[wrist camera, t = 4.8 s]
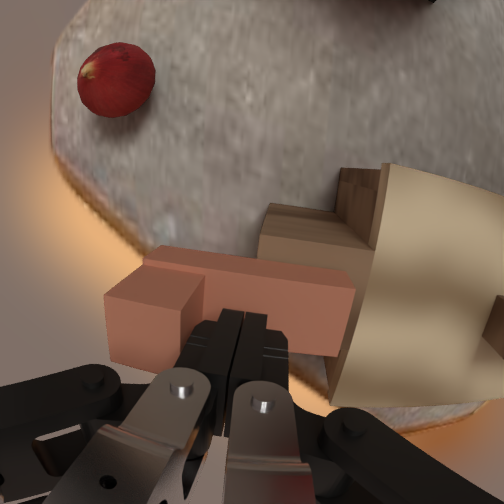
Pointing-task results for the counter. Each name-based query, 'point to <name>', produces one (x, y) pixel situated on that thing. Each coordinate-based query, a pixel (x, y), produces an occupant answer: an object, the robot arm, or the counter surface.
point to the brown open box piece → (328, 239)
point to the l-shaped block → (221, 303)
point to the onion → (116, 80)
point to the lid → (428, 298)
